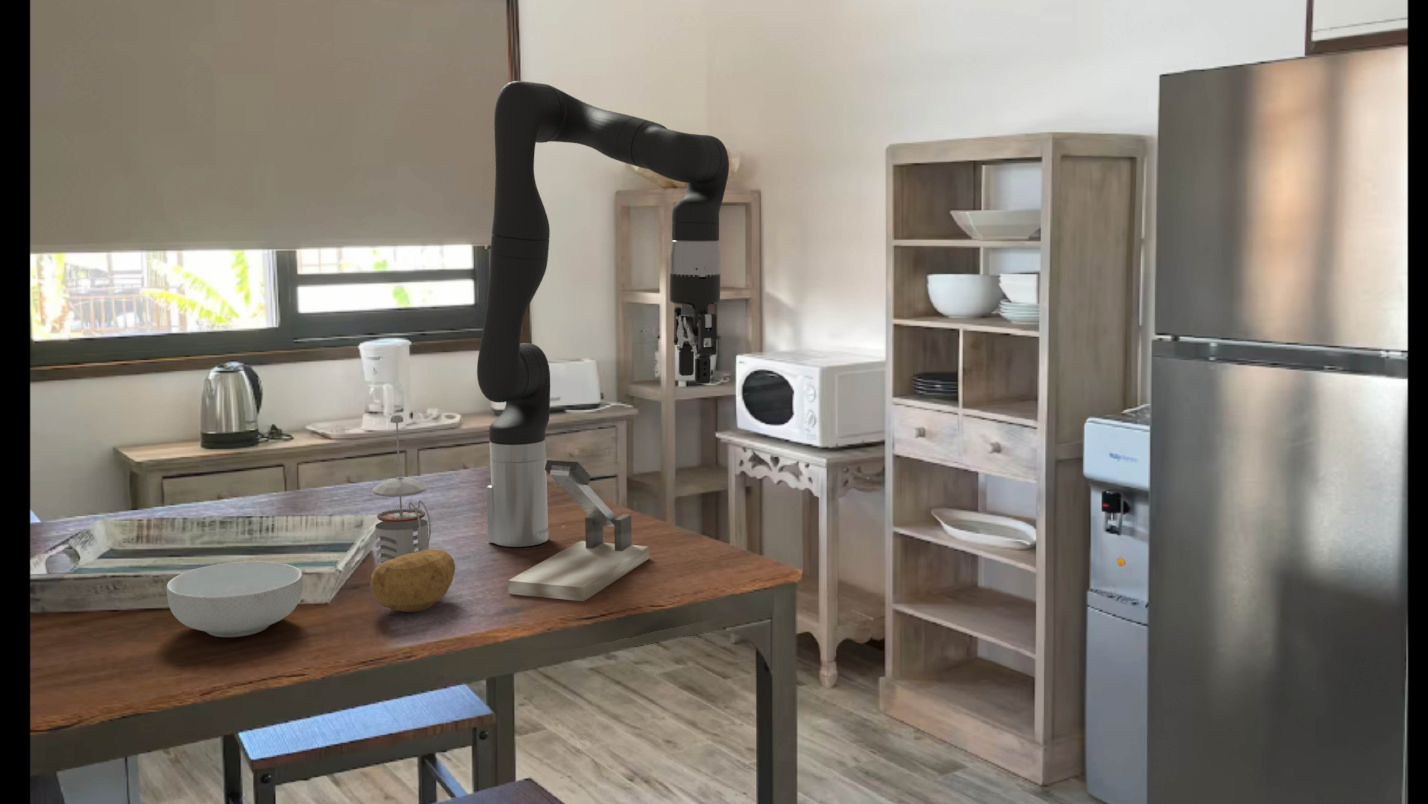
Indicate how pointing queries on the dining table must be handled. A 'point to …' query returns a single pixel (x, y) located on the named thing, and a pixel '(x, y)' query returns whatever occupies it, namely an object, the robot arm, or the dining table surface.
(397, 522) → the french press
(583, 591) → the press base
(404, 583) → the potato
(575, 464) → the lever
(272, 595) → the cereal bowl
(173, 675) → the dining table surface
